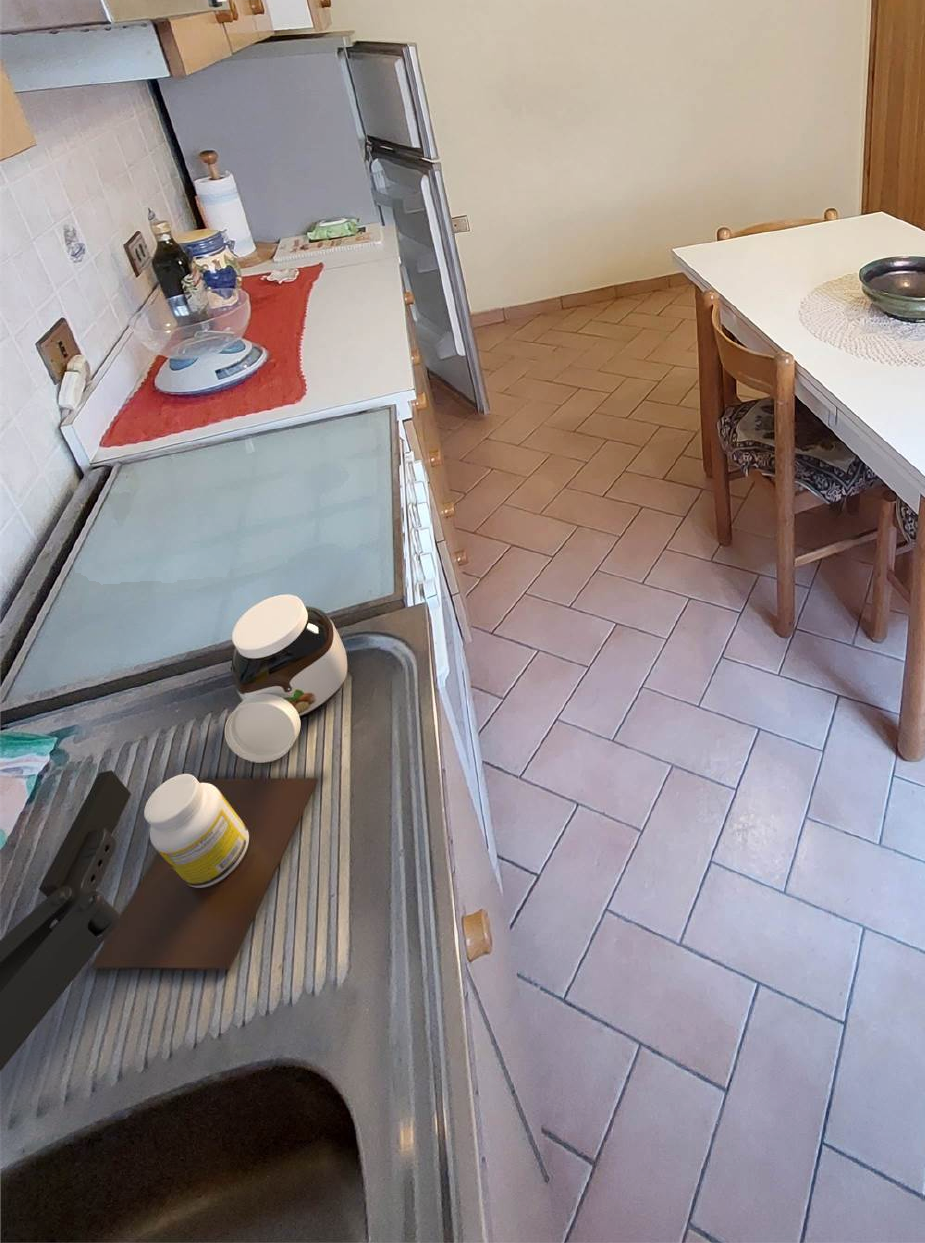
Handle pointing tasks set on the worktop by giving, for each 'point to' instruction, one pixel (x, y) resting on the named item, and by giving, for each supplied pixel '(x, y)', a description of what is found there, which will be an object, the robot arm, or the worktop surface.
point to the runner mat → (209, 889)
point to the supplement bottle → (195, 830)
